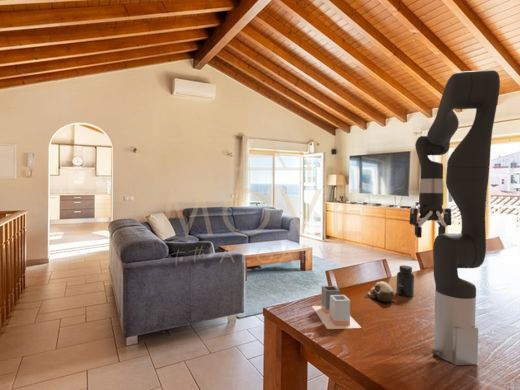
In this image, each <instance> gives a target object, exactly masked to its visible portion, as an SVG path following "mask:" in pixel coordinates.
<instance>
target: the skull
mask: <svg viewBox="0 0 520 390" xmlns="http://www.w3.org/2000/svg"><path fill="white" fill-rule="evenodd" d="M394 297H395V292H394V289H393V287H392V286H391V285H390V284H389V283H388V282H386V281H377V282H376V283H375V284H374V285H373V286H372V287H371V288H370V290H369V291H368V293H366V294H365V299H370V300H371V301H372V302H374V303H376V304H377V305H380V306H387V305H388V304H396V303H398V300H397V299H395V298H394Z"/></svg>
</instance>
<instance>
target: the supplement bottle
mask: <svg viewBox="0 0 520 390" xmlns="http://www.w3.org/2000/svg"><path fill="white" fill-rule="evenodd" d="M412 272H413V267H411V266H409V265H404V264H403V265H400V266H399V270H398V272H397V273H396V280H395V281H396V285H395V288H396V289H395V292H396V294H397V295H398V296H400V297H404V298H411V297H414V295H415V293H414V292H415V290H414V289H415V275H414V274H413V273H412Z"/></svg>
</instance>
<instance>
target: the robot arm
mask: <svg viewBox="0 0 520 390" xmlns="http://www.w3.org/2000/svg"><path fill="white" fill-rule="evenodd" d="M500 79H501V78H500V74H499V72H498V71H496V70H494V69H489V70H488V69H486V70H468V71H467V70H465V71H459V72H454V73H453V74H451V76H450V77H449V78H448V80H447V81H446V84H445V86H444V89H443V92H442V95H441V97H440V101H439V105H438V107H437V111H436V115H435V119H434V120H433V122H432V123H431V126H430V128H429V129H428V131H427V134H426V135H421V136H418V138H417V139H416V141H415V144H414V146H415V152H416V154H417V157H418V161H419V162H418V163H419V166H420V173H419V174H420V175H419V176H420V177H419V178H420V179H419V185H418V187H419V188H418V190H419V191H418V205H419V207H418V208H416V207H411V208H410V212H409V225H411V226H413V227H414V236H415V237H416V238H421V239H422V237H423V236H422V234H423V233H422V231H423V227H422V226H423V225H424V223H425V224H426V222H427V221H430V222H431V221H434V222H435V223H437V225H438V231H437V232H438V233H437V236H436V237H435V239H434V240H433V244H432V259H433V260H432V262H433V280H434V284H435V291H434V293H435V296H434V329H433V331H434V332H433V341H434V342H433V349H434V351H436V352H437V353H436V352H435V355H436V356H438V357H439V358H441V359H442V360H444V361H447V362H450V363H452V364H453V365H455V366H466V365H467V366H468V365H478V353H479V351H478V350H479V348H478V347H479V345H478V342H479V328H478V327H477V326H476V307H477V306H476V305H477V303H476V302H477V287H476V285H475V283H472V282H470V281H468V280H466V279H463V278H460V277H459V272H458V271H459V270H458V269H476V268H479V267H481V266H482V265H483V264H484V262H485V259H486V254H487V234H486V233H487V231H486V212H487V211H486V209H487V208H486V207H487V195H488V193H487V192H488V185H489V177H490V167H491V166H490V165H491V150H492V149H491V148H492V147H491V146H492V137H493V128H494V124H495V119H496V118H495V117H496V113H497V106H498V101H499V95H500V89H501V88H500V87H501V80H500ZM473 109H475V116H474V119H473V123H472V125H471V127H470V129H469V130H468V132H467V134H466V135H465V136H464V138H462V140H461V141H460V142H459V143H458V144H457V146H456V147H455V149H454V150H453V151H452V152H451V154H450V155H449V157H448V159H447V164H446V173H445V175H446V177H445V184H446V189H447V191H448V193H449V195H450V196H451V199H452V200H453V202H454V203H455V205H456V207H457V208H458V211H459V213H460V217H461V231H460V233H446V228H447V227H448V226H451V225H452V209H451V208H449V207H444V208H443V205H444V190H445V189H444V187H445V185H444V165H443V163H442V162H440V161H436V160H435V161H433V160H431V158H429V156H443V155H445V154H447V153H448V152H449V151H450V147H451V146H450V145H451V143H450V142H451V139H452V137H453V136H454V135H455V133H456V132H457V131H458V129H459V128H458V127H459V123H460V122H459V118H458V116H457V114H456V113H455V111H454V110H473Z"/></svg>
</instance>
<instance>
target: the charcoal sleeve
mask: <svg viewBox="0 0 520 390" xmlns="http://www.w3.org/2000/svg"><path fill="white" fill-rule="evenodd" d="M330 295H341V290H340V289H339V288H338V287H337V286H336V285H322V286H321V301H320V303H321V305H320V306H321V308H322V310H323V311H324V312H325V313H326V314H330Z"/></svg>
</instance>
